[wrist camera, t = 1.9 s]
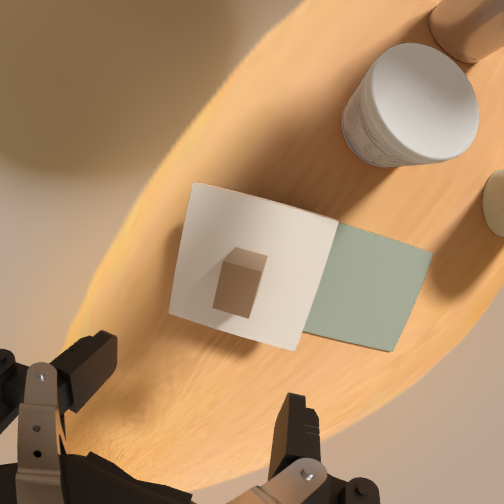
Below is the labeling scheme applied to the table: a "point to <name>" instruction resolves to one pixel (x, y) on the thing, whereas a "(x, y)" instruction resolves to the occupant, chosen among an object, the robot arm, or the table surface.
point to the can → (494, 203)
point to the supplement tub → (411, 109)
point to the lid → (249, 265)
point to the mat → (367, 288)
